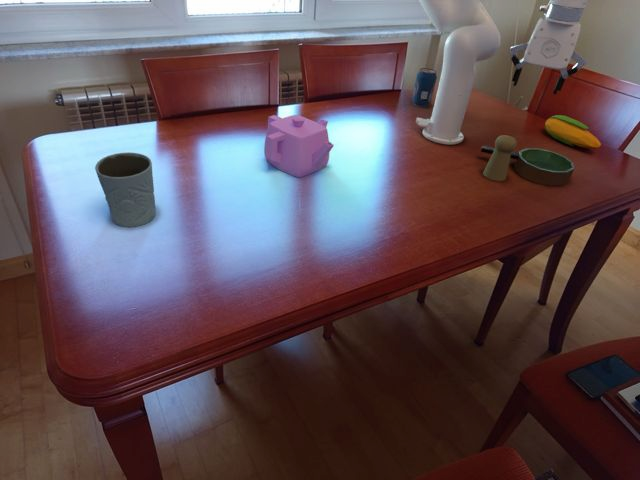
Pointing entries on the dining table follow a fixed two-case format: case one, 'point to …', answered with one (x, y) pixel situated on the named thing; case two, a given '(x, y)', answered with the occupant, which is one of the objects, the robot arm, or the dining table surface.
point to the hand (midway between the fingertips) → (534, 88)
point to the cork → (500, 158)
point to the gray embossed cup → (128, 188)
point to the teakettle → (297, 144)
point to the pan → (540, 166)
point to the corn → (571, 132)
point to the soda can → (424, 87)
